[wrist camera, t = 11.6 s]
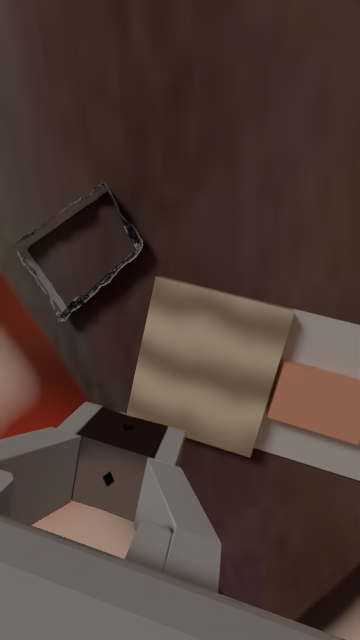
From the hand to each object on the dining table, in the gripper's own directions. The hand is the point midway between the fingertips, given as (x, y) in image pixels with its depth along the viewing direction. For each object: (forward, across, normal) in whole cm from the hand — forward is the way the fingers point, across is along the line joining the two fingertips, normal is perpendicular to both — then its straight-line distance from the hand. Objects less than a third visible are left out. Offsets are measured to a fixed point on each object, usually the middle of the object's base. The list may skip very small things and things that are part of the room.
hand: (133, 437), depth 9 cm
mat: (+26, -15, +6) cm, 31 cm away
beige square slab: (+26, -1, +6) cm, 27 cm away
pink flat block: (+26, -13, +7) cm, 29 cm away
